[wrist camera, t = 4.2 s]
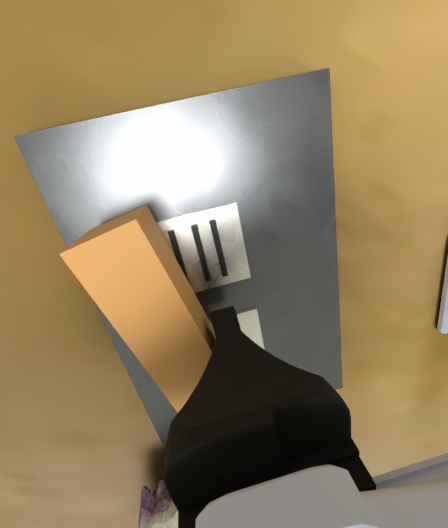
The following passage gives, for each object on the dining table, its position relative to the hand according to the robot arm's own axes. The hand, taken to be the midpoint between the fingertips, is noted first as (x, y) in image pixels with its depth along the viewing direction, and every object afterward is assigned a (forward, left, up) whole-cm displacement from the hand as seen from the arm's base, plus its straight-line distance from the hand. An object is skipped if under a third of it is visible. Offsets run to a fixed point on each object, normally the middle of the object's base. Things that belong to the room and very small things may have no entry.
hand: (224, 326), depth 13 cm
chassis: (0, 0, -3) cm, 3 cm away
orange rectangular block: (+2, +2, -1) cm, 3 cm away
